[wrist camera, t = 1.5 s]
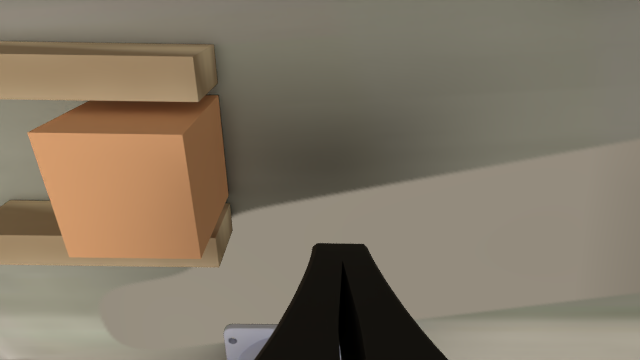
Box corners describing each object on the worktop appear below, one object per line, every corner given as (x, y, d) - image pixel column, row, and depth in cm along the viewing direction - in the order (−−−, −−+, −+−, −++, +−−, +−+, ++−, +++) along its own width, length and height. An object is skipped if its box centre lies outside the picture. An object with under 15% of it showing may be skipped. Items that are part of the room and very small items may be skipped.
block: (228, 195, 20) (200, 259, 15) (127, 194, 20) (69, 257, 15) (218, 95, 17) (182, 134, 13) (103, 93, 17) (27, 132, 13)
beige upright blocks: (232, 230, 21) (219, 267, 18) (20, 227, 21) (-26, 264, 18) (213, 44, 16) (193, 56, 14) (-53, 40, 16) (-126, 51, 14)
